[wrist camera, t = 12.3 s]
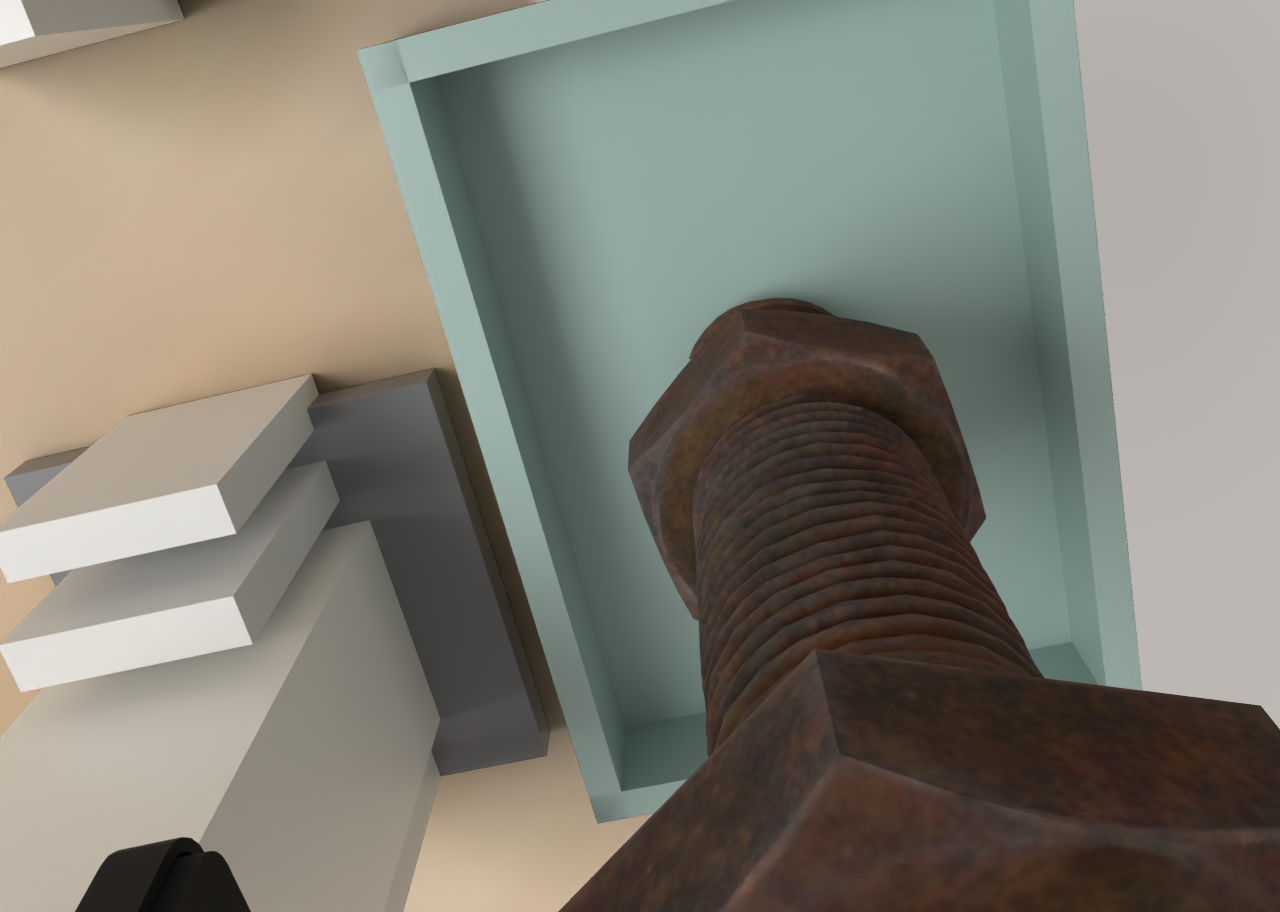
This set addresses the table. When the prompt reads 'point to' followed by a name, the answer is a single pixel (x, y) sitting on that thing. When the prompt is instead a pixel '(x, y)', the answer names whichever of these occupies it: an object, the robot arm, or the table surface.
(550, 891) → the table surface
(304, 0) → the table surface
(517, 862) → the table surface
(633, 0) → the tray
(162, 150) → the table surface
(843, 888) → the bolt
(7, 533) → the block
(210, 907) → the robot arm
